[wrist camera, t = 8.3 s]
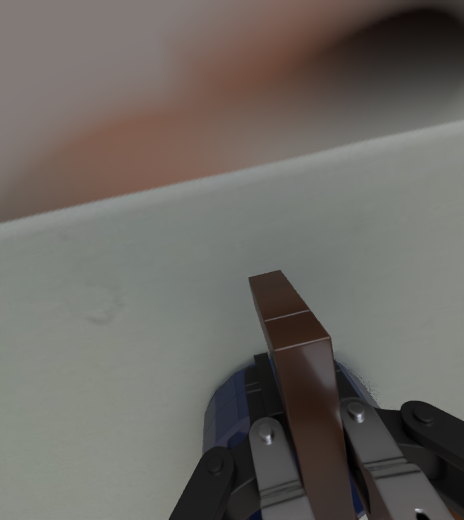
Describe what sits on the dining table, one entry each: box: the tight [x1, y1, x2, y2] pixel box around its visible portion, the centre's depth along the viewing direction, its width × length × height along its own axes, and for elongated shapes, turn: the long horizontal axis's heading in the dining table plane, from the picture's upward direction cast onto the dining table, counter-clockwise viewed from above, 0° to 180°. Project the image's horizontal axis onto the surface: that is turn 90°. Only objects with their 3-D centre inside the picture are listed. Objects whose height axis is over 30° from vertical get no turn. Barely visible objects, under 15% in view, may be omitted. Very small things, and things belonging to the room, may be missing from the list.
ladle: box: [248, 270, 359, 520], centre depth 12 cm, size 21×5×6 cm, turn 13°
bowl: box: [202, 358, 381, 520], centre depth 21 cm, size 16×16×5 cm
